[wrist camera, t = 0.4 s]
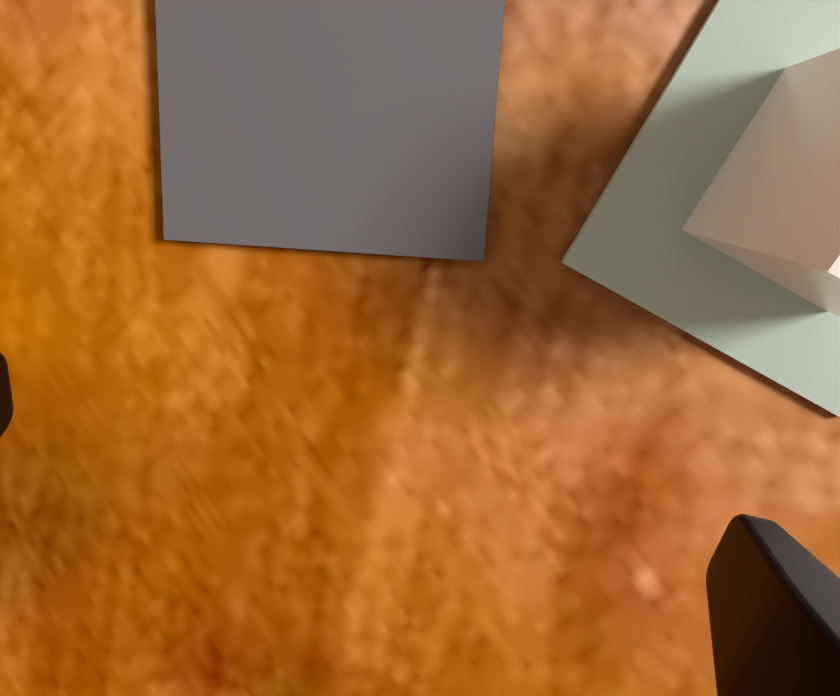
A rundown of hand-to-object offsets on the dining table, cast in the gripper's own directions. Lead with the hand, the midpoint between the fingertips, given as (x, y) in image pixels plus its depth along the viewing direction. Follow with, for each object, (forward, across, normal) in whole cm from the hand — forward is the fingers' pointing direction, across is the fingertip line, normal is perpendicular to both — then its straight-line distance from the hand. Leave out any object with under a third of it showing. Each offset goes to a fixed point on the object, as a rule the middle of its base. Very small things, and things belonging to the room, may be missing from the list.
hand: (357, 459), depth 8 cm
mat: (+15, +4, -3) cm, 16 cm away
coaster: (+14, -10, -2) cm, 18 cm away
